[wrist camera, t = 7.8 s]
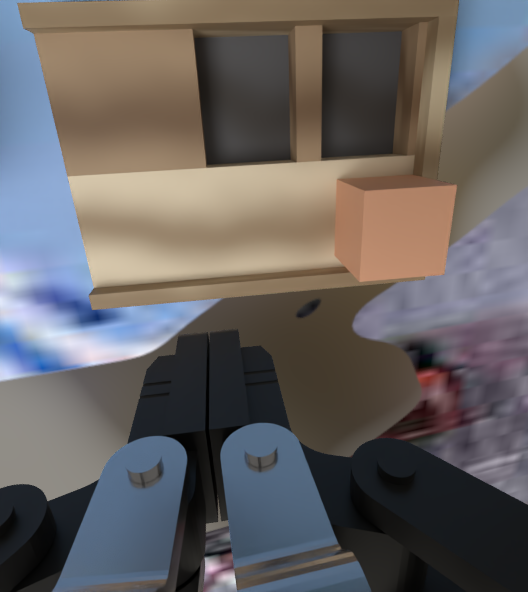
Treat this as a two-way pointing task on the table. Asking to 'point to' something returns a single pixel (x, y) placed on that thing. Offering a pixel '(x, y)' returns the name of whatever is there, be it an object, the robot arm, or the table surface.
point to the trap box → (235, 132)
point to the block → (393, 226)
